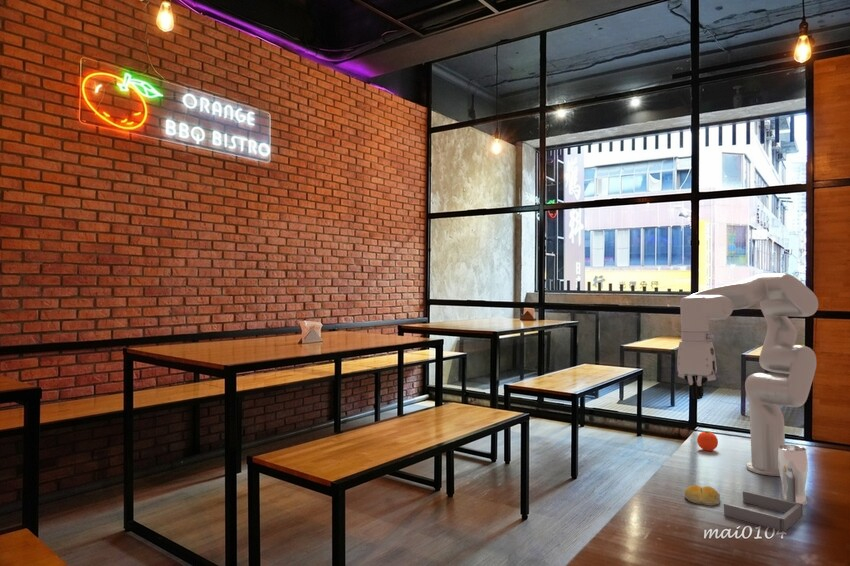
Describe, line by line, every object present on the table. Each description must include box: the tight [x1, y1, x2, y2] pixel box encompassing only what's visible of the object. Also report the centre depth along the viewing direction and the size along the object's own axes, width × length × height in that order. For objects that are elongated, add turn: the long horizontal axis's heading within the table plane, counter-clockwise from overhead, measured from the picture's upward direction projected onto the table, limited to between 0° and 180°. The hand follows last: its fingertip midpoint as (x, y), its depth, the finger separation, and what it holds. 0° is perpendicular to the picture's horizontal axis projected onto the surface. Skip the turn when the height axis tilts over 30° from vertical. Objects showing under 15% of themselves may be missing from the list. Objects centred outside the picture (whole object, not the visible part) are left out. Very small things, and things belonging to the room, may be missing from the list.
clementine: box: [696, 430, 719, 452], centre depth 204 cm, size 8×7×7 cm
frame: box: [723, 490, 804, 532], centre depth 145 cm, size 14×14×3 cm
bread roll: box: [684, 484, 721, 506], centre depth 157 cm, size 8×9×4 cm
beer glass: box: [778, 444, 809, 507], centre depth 154 cm, size 7×7×15 cm
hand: (697, 398), depth 166 cm, fingers closed
